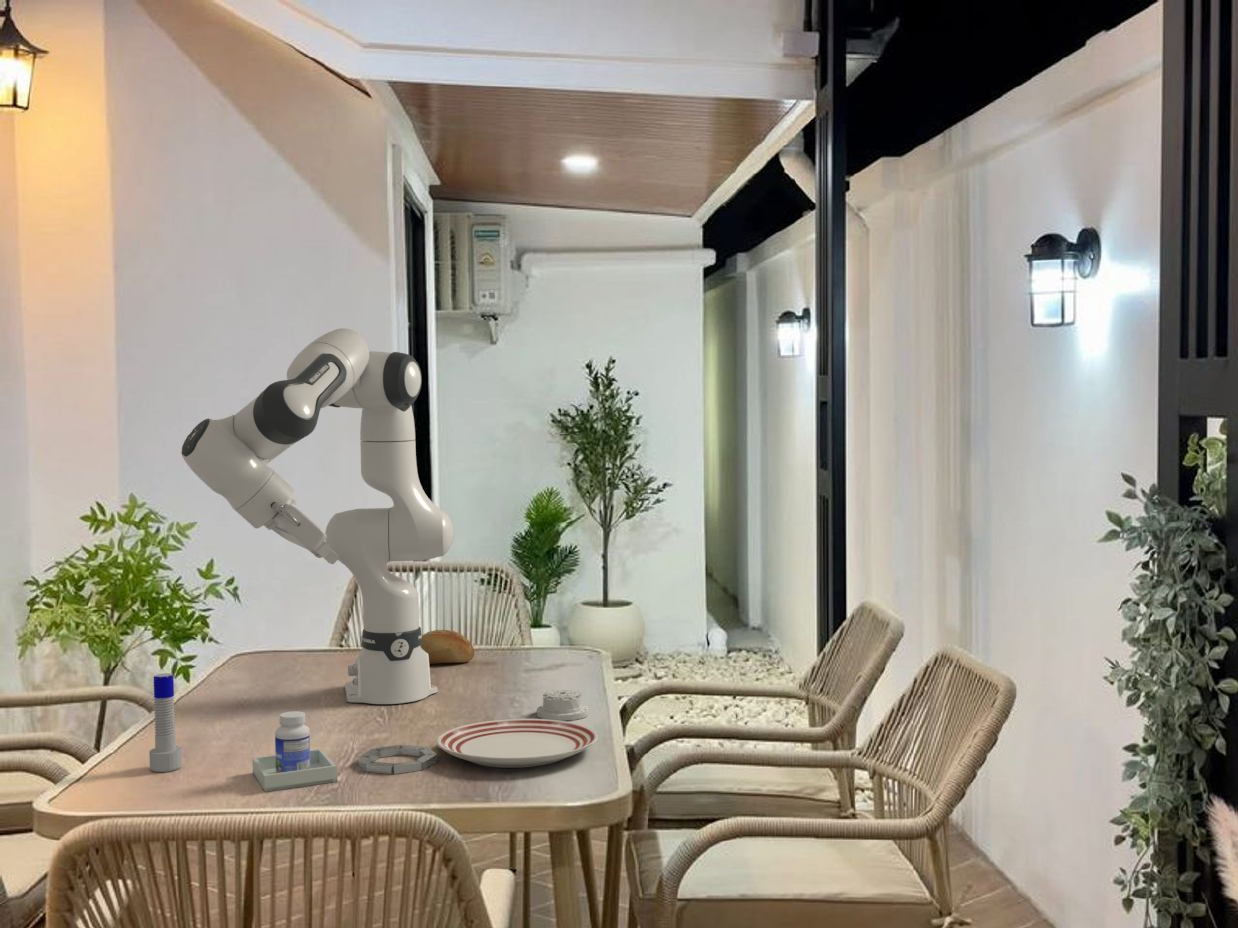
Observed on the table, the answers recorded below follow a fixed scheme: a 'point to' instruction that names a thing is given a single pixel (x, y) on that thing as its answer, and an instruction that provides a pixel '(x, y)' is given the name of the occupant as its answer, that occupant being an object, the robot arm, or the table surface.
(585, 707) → the mechanical component
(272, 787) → the bin
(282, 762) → the pill bottle
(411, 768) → the collar
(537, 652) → the table surface
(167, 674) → the bolt
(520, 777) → the table surface
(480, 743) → the dinner plate
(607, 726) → the table surface
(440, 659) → the bread roll
